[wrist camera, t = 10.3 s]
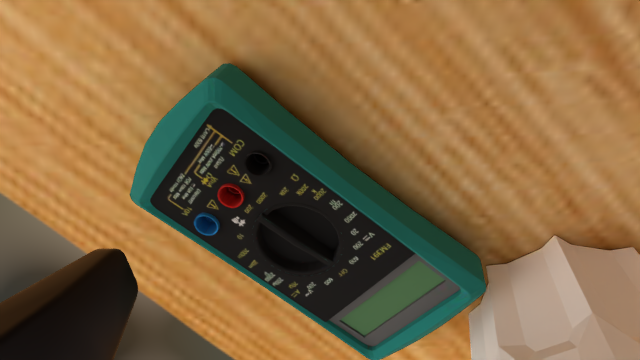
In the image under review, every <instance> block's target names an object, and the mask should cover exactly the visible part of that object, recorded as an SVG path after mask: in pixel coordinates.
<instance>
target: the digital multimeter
mask: <svg viewBox="0 0 640 360" xmlns="http://www.w3.org/2000/svg"><path fill="white" fill-rule="evenodd" d="M130 196H131V199H132V201H133V202H134V203H135V204H136V205H138V206H140V207H141V208H143V209H144V210H146V211H147V212H149V213H151V214H152V215H154V216H155V217H157V218H159V219H160V220H162V221H163V222H165V223H166V224H168V225H169V226H171V227H173V228H174V229H176V230H177V231H179V232H180V233H182V234H184V235H185V236H187V237H188V238H190V239H191V240H193V241H194V242H196V243H197V244H199V245H201V246H202V247H204V248H205V249H207V250H208V251H210V252H211V253H213V254H214V255H216V256H218V257H219V258H221V259H222V260H224V261H225V262H227V263H228V264H230V265H231V266H233V267H235V268H236V269H238V270H239V271H241V272H242V273H244V274H245V275H247V276H248V277H250V278H252V279H253V280H255V281H256V282H257V283H259V284H260V285H262V286H263V287H265V288H266V289H268V290H269V291H271V292H272V293H274V294H275V295H277V296H278V297H280V298H281V299H283V300H284V301H286V302H287V303H289V304H290V305H292V306H293V307H295V308H296V309H298V310H299V311H300V312H302V313H303V314H305V315H306V316H308V317H309V318H311V319H312V320H314V321H315V322H317V323H318V324H319V325H321V326H322V327H324V328H325V329H327V330H328V331H330V332H331V333H332V334H334V335H335V336H337V337H338V338H339V339H341V340H342V341H344V342H345V343H347V344H348V345H349V346H351V347H352V348H354V349H355V350H357V351H358V352H359V353H361V354H362V355H364V356H365V357H366V358H368V359H371V360H380V359H383V358H385V357H387V356H389V355H391V354H393V353H395V352H397V351H399V350H401V349H403V348H405V347H406V346H408V345H410V344H412V343H414V342H416V341H418V340H419V339H421V338H423V337H424V336H426V335H428V334H429V333H431V332H432V331H434V330H435V329H437V328H439V327H440V326H442V325H443V324H444V323H446V322H447V321H449V320H450V319H451V318H453V317H454V316H455V315H457V314H458V313H460V312H461V311H462V310H463V309H465V308H466V307H467V306H469V305H470V304H471V303H472V302H474V301H475V300H476V299H477V298H479V297H480V296H481V295H482V294H483V293H484V292H485V291H486V283H485V279H484V274H483V270H482V265H481V261H480V259H479V257H478V256H477V255H476V254H474V253H473V252H472V251H470V250H469V249H467V248H466V247H464V246H463V245H462V244H460V243H459V242H457V241H456V240H455V239H453V238H452V237H450V236H449V235H447V234H446V233H445V232H443V231H442V230H440V229H439V228H437V227H436V226H435V225H433V224H432V223H430V222H429V221H428V220H426V219H425V218H423V217H422V216H420V215H419V214H418V213H416V212H415V211H413V210H412V209H411V208H409V207H408V206H407V205H405V204H404V203H403V202H401V201H400V200H399V199H397V198H396V197H395V196H393V195H392V194H391V193H389V192H388V191H387V190H385V189H384V188H383V187H381V186H380V185H379V184H378V183H376V182H375V181H374V180H372V179H371V178H370V177H368V176H367V175H366V174H364V173H363V172H362V171H360V170H359V169H358V168H356V167H355V166H354V165H352V164H351V163H350V162H349V161H347V160H346V159H345V158H344V157H343V156H341V155H340V154H339V153H338V152H337V151H335V150H334V149H333V148H332V147H331V146H329V145H328V144H327V143H326V142H325V141H323V140H322V139H321V138H320V137H319V136H317V135H316V134H315V133H314V132H312V131H311V130H310V129H309V128H308V127H306V126H305V125H304V124H303V123H302V122H300V121H299V120H298V119H297V118H296V117H294V116H293V115H292V114H291V113H290V112H288V111H287V110H286V109H285V108H284V107H283V106H281V105H280V104H279V103H278V102H277V101H276V100H275V99H273V98H272V97H271V96H270V95H269V94H268V93H266V92H265V91H264V90H263V89H262V88H261V87H260V86H258V85H257V84H256V83H255V82H254V81H253V80H251V79H250V78H249V77H248V76H247V75H246V74H245V73H243V72H242V71H241V70H240V69H239V68H238V67H236V66H234V65H232V64H230V63H229V64H222V65H221V66H220V67H219V68H217V69H216V70H215V71H214V72H213V73H211V74H210V75H209V76H208V77H207V78H206V79H204V80H203V81H202V82H201V83H200V84H198V85H197V86H196V87H195V88H194V89H193V90H191V91H190V92H189V93H188V94H187V95H186V96H185V97H184V98H183V99H181V100H180V101H179V102H178V103H177V104H176V105H175V106H174V107H173V108H172V109H171V110H170V111H169V112H168V113H167V115H166V116H165V117H164V118H163V119H162V120H161V121H160V122H159V123H158V125H157V126H156V128H155V130H154V131H153V133H152V134H151V136H150V137H149V139H148V141H147V142H146V144H145V147H144V149H143V152H142V155H141V157H140V160H139V163H138V165H137V168H136V172H135V176H134V180H133V184H132V188H131V192H130Z"/></svg>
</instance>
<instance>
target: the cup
mask: <svg viewBox="0 0 640 360" xmlns="http://www.w3.org/2000/svg"><path fill="white" fill-rule="evenodd" d="M486 268H487V275H488V281H489V283H488V285H487V288H486V291H485V293H484V296H483V298H482V301H481V304H480V305H478V306H477V307H476V308H475V309H474V310H473V311H471V312H470V313H469V328H470V343H471V359H472V360H640V255H639V253H638V252H637V251H636V250H635V248H634V247H630V248H623V249H617V250H610V251H609V250H603V249H596V248H590V247H583V246H577V245H571V244H569V243H567V242H566V241H564V240H562V239H561V238H559V237H557V236H555V235H554V236H553V237H552V238H551V239H550V240H549V241H548V242H547V243H546V244H545V245H544V246H543V247H542V248H541V249H539V250H537V251H534V252H532V253H530V254H528V255H525V256H523V257H521V258H519V259H516V260H514V261H512V262H510V263H507V264H499V265H490V266H486Z"/></svg>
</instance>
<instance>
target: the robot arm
mask: <svg viewBox="0 0 640 360" xmlns="http://www.w3.org/2000/svg"><path fill="white" fill-rule="evenodd" d="M137 293H138V285H137V281H136V279H135V277H134V274H133V272H132V270H131V268H130V265H129V263H128V261H127V259H126V256H125V254H124V253H123V252H122V251H121V250H119V249H97V250H94V251H92V252H90V253H89V254H87V255H85V256H83V257H82V258H80V259H78V260H76V261H74V262H73V263H71V264H69V265H67V266H65V267H64V268H62V269H60V270H58V271H56V272H55V273H53V274H51V275H50V276H48V277H46V278H44V279H42V280H40V281H39V282H37V283H35V284H33V285H31V286H30V287H28V288H26V289H24V290H23V291H21V292H19V293H17V294H15V295H14V296H12V297H10V298H8V299H6V300H5V301H3V302H1V303H0V360H113V359H114V357H115V354H116V351H117V349H118V346H119V343H120V340H121V338H122V335H123V333H124V330H125V327H126V325H127V322H128V319H129V316H130V314H131V311H132V308H133V306H134V303H135V300H136V297H137Z"/></svg>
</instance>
